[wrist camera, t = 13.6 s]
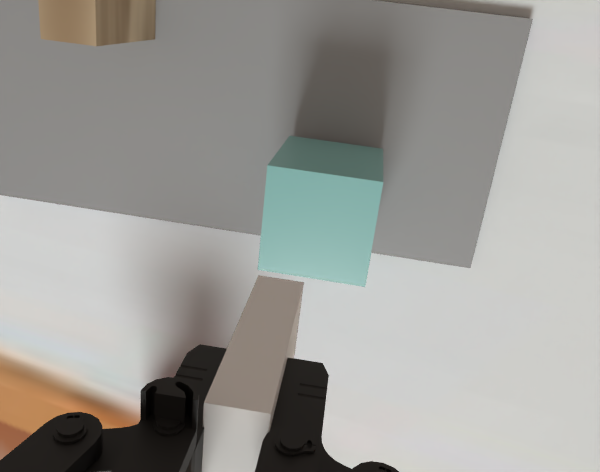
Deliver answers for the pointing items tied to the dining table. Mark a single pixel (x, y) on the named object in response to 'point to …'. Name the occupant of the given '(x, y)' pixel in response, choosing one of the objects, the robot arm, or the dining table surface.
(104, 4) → the post beech
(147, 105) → the stand
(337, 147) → the mint green foam cube
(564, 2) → the dining table surface
